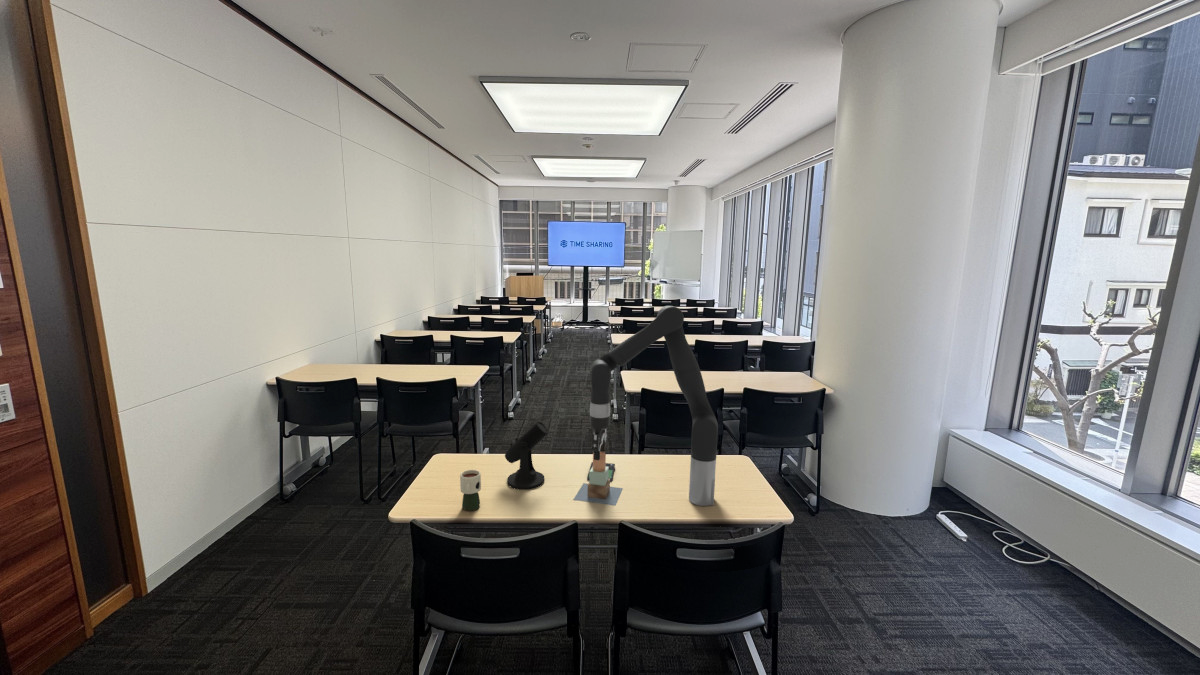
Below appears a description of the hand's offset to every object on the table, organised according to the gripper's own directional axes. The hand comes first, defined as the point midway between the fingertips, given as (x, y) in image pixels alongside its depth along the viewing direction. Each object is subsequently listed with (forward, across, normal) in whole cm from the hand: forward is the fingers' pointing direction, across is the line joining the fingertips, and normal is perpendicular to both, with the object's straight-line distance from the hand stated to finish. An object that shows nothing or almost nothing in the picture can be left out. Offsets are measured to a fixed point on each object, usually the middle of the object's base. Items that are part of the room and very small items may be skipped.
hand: (599, 455), depth 182 cm
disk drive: (+17, +18, +3) cm, 25 cm away
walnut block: (+15, 0, 0) cm, 16 cm away
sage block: (+10, 0, 0) cm, 11 cm away
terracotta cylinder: (+6, 0, 0) cm, 6 cm away
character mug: (+16, -21, +42) cm, 50 cm away
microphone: (+16, +4, +31) cm, 35 cm away
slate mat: (+16, 0, 0) cm, 16 cm away
